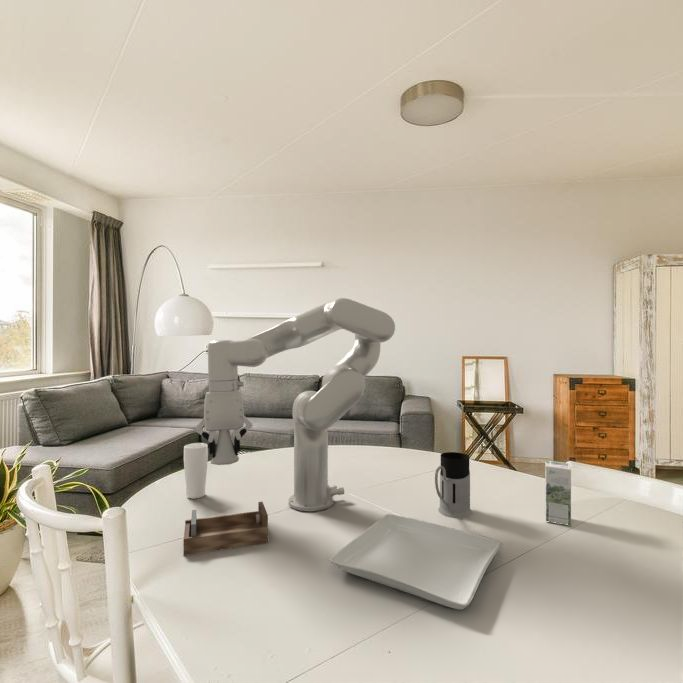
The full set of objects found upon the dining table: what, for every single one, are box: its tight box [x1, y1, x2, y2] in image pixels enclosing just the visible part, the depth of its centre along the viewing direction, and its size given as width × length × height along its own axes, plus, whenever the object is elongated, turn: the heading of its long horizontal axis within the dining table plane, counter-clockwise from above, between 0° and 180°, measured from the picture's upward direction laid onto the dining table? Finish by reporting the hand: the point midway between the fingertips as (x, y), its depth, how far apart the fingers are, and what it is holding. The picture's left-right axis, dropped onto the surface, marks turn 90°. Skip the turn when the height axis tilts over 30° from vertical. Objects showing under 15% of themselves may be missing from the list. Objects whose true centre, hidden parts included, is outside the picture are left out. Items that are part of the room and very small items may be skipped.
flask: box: [210, 430, 240, 466], centre depth 112 cm, size 7×7×10 cm
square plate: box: [329, 513, 503, 610], centre depth 87 cm, size 27×27×4 cm
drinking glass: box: [183, 442, 209, 500], centre depth 125 cm, size 7×7×15 cm
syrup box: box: [544, 460, 572, 525], centre depth 108 cm, size 6×6×14 cm
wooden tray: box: [182, 501, 269, 556], centre depth 98 cm, size 18×10×6 cm, turn 108°
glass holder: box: [434, 451, 473, 519], centre depth 112 cm, size 9×14×15 cm, turn 137°
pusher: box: [190, 509, 197, 537], centre depth 96 cm, size 1×8×5 cm, turn 19°
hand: (224, 454), depth 112 cm, fingers closed on flask, 5 cm apart
